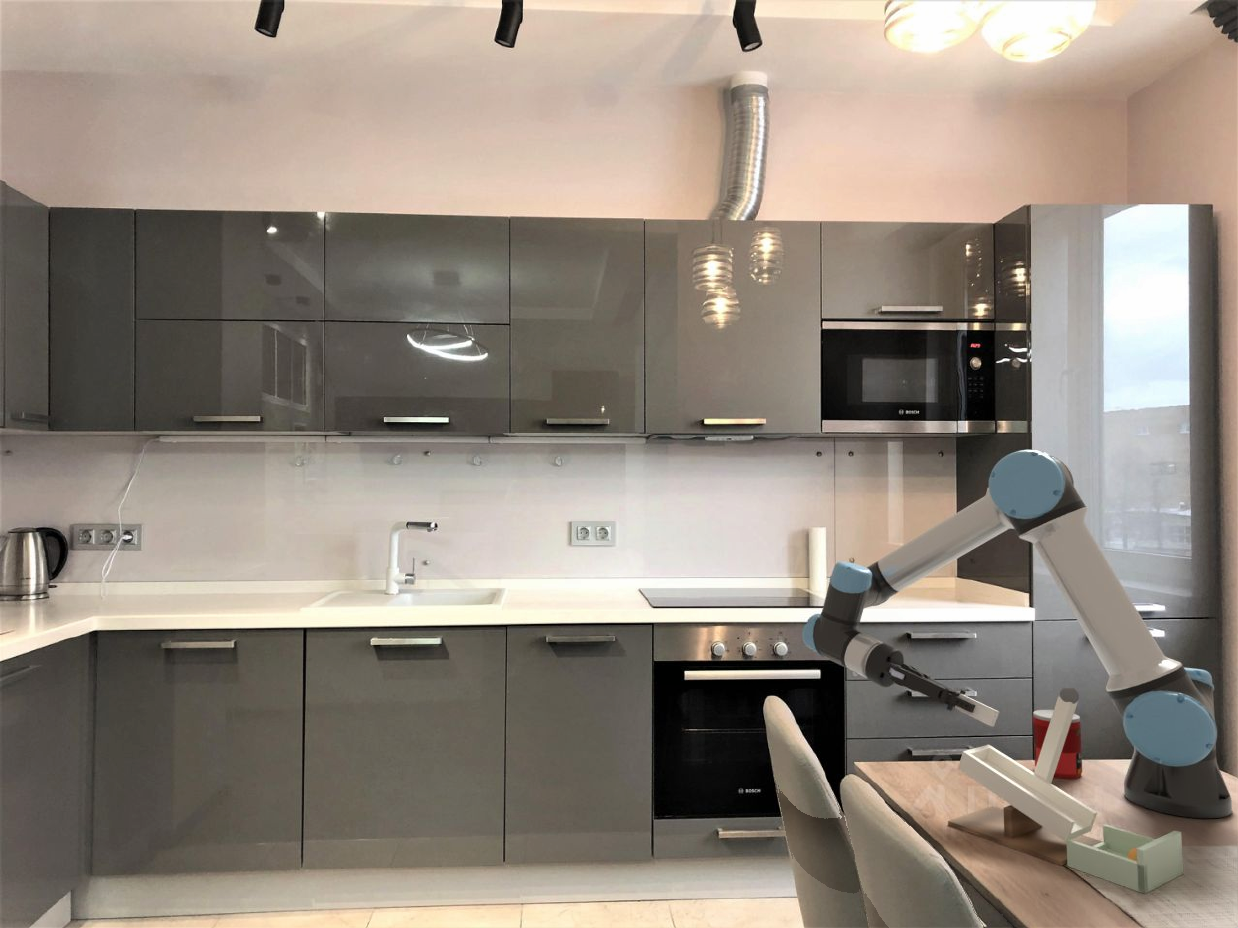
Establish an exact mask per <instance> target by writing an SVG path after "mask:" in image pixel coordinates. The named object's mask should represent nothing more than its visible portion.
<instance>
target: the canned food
mask: <svg viewBox="0 0 1238 928" xmlns="http://www.w3.org/2000/svg"><path fill="white" fill-rule="evenodd" d="M1053 711H1054V709H1038V710H1035V711H1033V714H1032V726H1033V727H1032V728H1033V749H1034V750H1033V751H1034V755H1033V756H1034V766H1035V768H1036V765H1037V762H1038V758H1039V755H1040V752H1041V749H1042V746H1043V743H1044V740H1045V737H1046V733H1047V730H1048V727H1049V724H1050V721H1051V718H1052V715H1053ZM1081 728H1082V727H1081V717H1080V715H1078V714H1076V713H1074V715H1073V718H1072V721H1071V724H1070V727H1069V730H1068V733H1067V736H1066V740H1065V743H1064V746H1063V749H1062V752H1061V755H1060V758H1059V761H1058V764H1057V767H1056V770H1055V773H1054V776H1053V779H1054V778H1057V779H1063V780H1064V779H1065V780H1073V779H1074V780H1075V779H1078V778H1080V777H1081V776H1082V774H1083V757H1082V755H1083V754H1082V729H1081Z"/></svg>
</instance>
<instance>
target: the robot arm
mask: <svg viewBox="0 0 1238 928" xmlns="http://www.w3.org/2000/svg"><path fill="white" fill-rule="evenodd" d="M1087 511H1088V508H1087V506H1086V504H1085V503H1084V500H1083V499H1082V498H1081V496H1080V495H1079V493H1078V491H1077V489H1076V488H1075V481H1074V477H1073V474H1072V472H1071V470H1070V469H1069V467H1068V466H1067V465H1066V464H1065V463H1064V462H1063V461H1061V460H1060V459H1058V458H1057V457H1055V456H1053V455H1050V454H1048V453H1047V452H1044V451H1041V450H1038V449H1023V450H1022V449H1021V450H1018V451H1015V452H1011V453H1009V454H1007V455H1005V456H1003V457H1002V458H1001V459H1000V460H998V461H997V462H996V464H995V465H994V467H993V468H992V470H991V473H990V474H989V478H988V487H987V489H986V494H985V495H984V496H983V497H980V499H979V498H978V500H976V501H974V502H973V503H971V504H970V505H968V506H966V507H964V508H963V509H961V510H959V511H958V512H956V513H955V514H953V515H951V516H950V517H948V518H946V519H945V520H943V521H941V522H940V523H938V524H937V525H935V526H933V527H931V528H930V529H928V530H926V531H925V532H923V533H921V534H920V535H918V536H916V537H915V538H913V539H912V540H910V541H908V542H907V543H905V544H904V545H902V546H900V547H898V548H897V549H895V550H893V551H892V552H890V553H889V554H887V555H885V556H883V557H882V558H880V559H879V560H878V561H875V562H874V563H871V564H870V565H868V566H867V567H865V566H864V565H861V564H857V563H853V562H850V561H843V560H842V561H837V562H836V563H835V564H834V567H833V570H832V571H831V575H829V582H828V587H827V591H826V595H825V598H824V602H823V605H822V609H821V612H820V613H815V614H812V615H811V616H810V617H809V618H808V619H807V621H806V624H805V625H804V626H803V628H802V641H803V642H802V643H803V644H804V645H805V646H806V647H807V648H808V649H810V650H812V651H813V652H814V653H817V654H818V655H819V656H820V657H822V658H825V659H827V660H829V661H831V662H834V663H835V664H837V665H839V666H842V667H844V668H845V669H848V670H850V671H852V675H853V676H854V677H857V676H858V675H860V676H861V677H863V678H865V679H866V678H867V680H868V681H871V682H872V683H874V684H876V685H879V686H880V687H883V688H889V687H891V686H893V685H894V684H896V685H898V686H900V687H905V688H907V689H909V690H911V691H914V692H918V693H921V694H923V695H925V696H926V697H929V698H930V699H933V700H935V701H937V702H939V703H940V704H941V705H942V704H943V705H944V704H945V705H947V707H946V710H948V711H950V712H951V711H952V710H953V708H954V709H956V710H957V711H959V712H961V713H963V714H965V715H966V716H970V717H971V718H973V719H975V720H977V721H980V722H981V723H983V724H985V725H987V726H989V727H993V728H994V727H995V724H996V723H997V722H996V721H997V719H998V718H999V714H1000V711H998V710H997V709H994V708H992V707H990V706H989V705H987V704H984V703H982V702H980V701H977V700H975V699H973V698H971V697H970V696H967V695H966V693H967V691H965V690H963V689H960V692H959V691H958V690H957V689H954V688H952V687H950V686H948V685H946V684H943V683H942V682H940V681H938V680H935V679H934V678H932V677H931V676H930V675H928V674H927V673H925V672H922V671H920V669H918V667H915V666H913V665H910V664H907V663H904V662H905V659H904V658H905V657H904V654H903V653H902V651H901V650H900V649H898V648H895V647H894V646H891V645H889V644H887V643H884V642H882V641H881V640H879V639H877V638H875V637H873V636H871V635H869V634H866V633H863V632H860V631H859V630H858V629H859V625H860V623H861V620H862V616H863V612H864V610H865V609H866V608H870V607H871V608H872V607H876V606H879V605H880V606H881V605H882V604H884V603H886V602H887V601H888V600H889V599H890V598H891V597H893V596H895V595H896V594H898V593H900V592H901V591H903V590H904V589H906V588H908V587H910V586H912V585H913V584H915V583H917V582H919V581H920V580H923V578H924V579H925V577H927V576H929V575H931V574H933V573H934V572H936V571H937V570H940V569H941V568H943V567H945V566H947V565H948V564H950V563H952V562H954V561H955V560H957V559H959V558H960V557H962V556H964V555H966V554H968V553H969V552H971V551H972V550H974V549H976V548H978V547H979V546H980V547H981V545H983V544H986V542H989V541H990V540H992V539H994V538H996V537H998V535H1001V534H1002V533H1004V532H1006V531H1008V530H1010V529H1013V530H1014V531H1015V533H1016V535H1017V536H1018V538H1019V539H1020V540H1023V541H1027V542H1030V543H1032V544H1033V545H1034V547H1035V548H1036V551H1037V552H1038V554H1039V556H1040V557H1041V560H1042V561H1043V563H1044V565H1045V566H1046V568H1047V570H1048V572H1049V573H1050V575H1051V577H1052V579H1053V580H1054V582H1055V584H1056V585H1057V586H1058V589H1059V591H1060V592H1061V594H1062V596H1063V598H1064V600H1065V601H1066V602H1067V605H1068V606H1069V608H1070V610H1071V612H1072V613H1073V615H1074V617H1075V618H1076V620H1077V622H1078V623H1079V625H1080V627H1081V629H1082V630H1083V632H1084V634H1085V637H1087V639H1088V640H1089V642H1090V644H1091V646H1092V648H1093V650H1094V651H1095V653H1096V656H1097V657H1098V658H1099V660H1100V663H1101V664H1102V666H1103V667H1104V669H1105V670H1106V672H1107V674H1108V681H1107V683H1106V686H1105V690H1106V692H1107V694H1108V695H1109V697H1110V699H1111V702H1112V703H1113V705H1114V706H1115V708H1116V710H1117V711H1118V713H1119V715H1120V717H1121V718H1122V723H1123V724H1122V725H1123V726H1122V728H1123V729H1124V734H1125V735H1126V737H1127V739H1128V741H1129V742H1130V743H1131V745H1132V747H1133V754H1132V757H1131V760H1130V763H1129V766H1128V768H1127V772H1126V774H1125V777H1124V781H1123V790H1124V791H1123V792H1124V793H1123V794H1124V796H1125V798H1126V799H1127V800H1128V801H1130V802H1132V803H1134V804H1135V805H1138V806H1141V807H1142V808H1146V809H1148V810H1152V811H1155V812H1160V813H1162V814H1163V813H1164V814H1166V815H1167V814H1169V815H1173V816H1179V817H1184V818H1185V817H1186V818H1194V819H1195V818H1196V819H1220V818H1225V817H1228V816H1230V815H1231V814H1232V813H1233V808H1232V807H1233V805H1232V802H1233V801H1232V797H1231V794H1230V792H1229V789H1228V787H1227V785H1226V781H1225V779H1224V777H1223V774H1222V772H1221V770H1220V768H1219V765H1218V763H1217V762H1218V761H1217V749H1216V748H1217V747H1216V746H1217V745H1216V743H1217V738H1218V727H1217V724H1216V719H1215V718H1216V717H1215V706H1214V705H1215V704H1214V691H1215V685H1214V684H1213V678H1212V674H1211V673H1210V672H1209V671H1208V670H1205V669H1200V668H1192V667H1191V668H1190V667H1184V665H1183V664H1182V662H1181V661H1177V660H1175V659H1172V658H1170V657H1167V656H1166V655H1165V654H1164V653H1163V651H1162V649H1161V647H1160V646H1159V645H1158V642H1157V641H1156V639H1155V638H1154V636H1153V635H1152V633H1151V631H1150V630H1149V628H1148V626H1147V624H1146V623H1145V621H1144V620H1143V618H1142V616H1141V614H1140V613H1139V611H1138V610H1137V608H1136V606H1135V605H1134V603H1133V601H1132V600H1131V598H1130V596H1129V595H1128V593H1127V592H1126V590H1125V588H1124V587H1123V585H1122V583H1121V582H1120V580H1119V577H1118V576H1117V575H1116V573H1115V572H1114V570H1113V568H1112V566H1111V564H1110V563H1109V561H1108V560H1107V558H1106V556H1105V554H1104V553H1103V551H1102V550H1101V548H1100V547H1099V545H1098V543H1097V542H1096V540H1095V539H1094V537H1093V536H1094V535H1092V533H1091V532H1090V529H1089V528H1088V527H1087V524H1086V523H1085V517H1086V514H1087Z"/></svg>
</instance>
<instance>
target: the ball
mask: <svg viewBox="0 0 1238 928" xmlns="http://www.w3.org/2000/svg"><path fill="white" fill-rule="evenodd" d="M1127 858H1128V859H1131V860H1134V861H1137V848H1134V849H1132V850H1130V851H1129V853H1128V857H1127Z"/></svg>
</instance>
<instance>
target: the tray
mask: <svg viewBox="0 0 1238 928" xmlns="http://www.w3.org/2000/svg"><path fill="white" fill-rule="evenodd" d="M1102 835H1103V836H1102V838H1103V842H1101V843H1099V844H1096V845H1094V846H1092V847H1091V846H1088V845H1085V844H1082V843H1079V842H1076V841H1073V840H1070V839H1069V840H1067V864H1066V865H1067V867H1069V868H1072V869H1074V868H1075V870H1076V871H1077V870H1078V871H1080V872H1083V873H1086V874H1088V875H1092V876H1094V877H1096V878H1099V877H1100V879H1102V878H1103V879H1102V880H1105V881H1107V882H1110V881H1111V883H1113V884H1116V885H1119V886H1122V887H1124V886H1125V888H1128V889H1130V890H1133V891H1136V892H1139V893H1141V894H1143V895H1144V894H1145V895H1146V894H1148V893H1150V892H1151V891H1154V890H1156V889H1157V888H1159V887H1160V886H1163V885H1165V884H1167V883H1168V882H1170V881H1172V880H1173V879H1175V878H1177V877H1179V876H1181V875H1183V874H1184V866H1183V865H1184V864H1183V844H1182V843H1183V842H1182V839H1183V838H1182V832H1181V831H1178V830H1173V831H1170V832H1169V833H1167V834H1165V835H1162V836H1160V837H1158V838H1152V837H1150V836H1146V835H1144V834H1143V835H1142V834H1139V833H1135V832H1132V831H1129V830H1126V829H1124V828H1123V829H1122V828H1119V827H1117V826H1114V825H1110V824H1107V823H1105V824H1103V825H1102ZM1134 848H1137V861H1134V860H1131V859H1128V858H1127V857H1128V853H1129V851H1130V850H1132V849H1134Z"/></svg>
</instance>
